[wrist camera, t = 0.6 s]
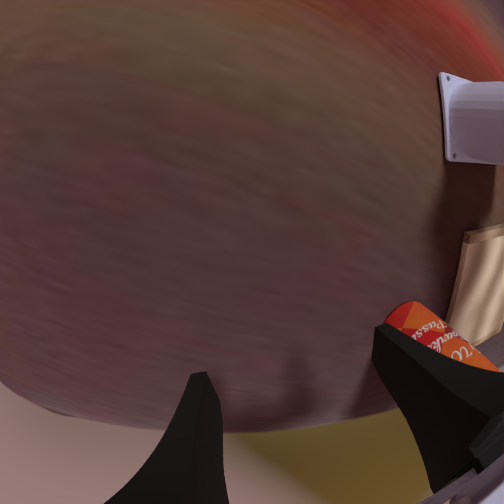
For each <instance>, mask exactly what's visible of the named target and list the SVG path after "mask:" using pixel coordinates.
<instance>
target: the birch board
mask: <svg viewBox="0 0 504 504" xmlns="http://www.w3.org/2000/svg"><path fill="white" fill-rule="evenodd" d="M503 321H504V224H501V225H496V226H491V227H486V228H481V229H476V230H471V231H466V232H464V237H463V244H462V250H461V256H460V261H459V266H458V271H457V276H456V281H455V285H454V289H453V293H452V297H451V301H450V305H449V309H448V312H447V316H446V319H445V323H446V324H448V325H449V326H450V327H451V328H452V329H454V330H455V331H456V332H457V333H458V334H459V335H461V336H462V337H463V338H464V339H465V340H466V341H468V342H469V343H470V344H471V345H472V346H473V347H475V346H477V345H478V344H480V343H482V342H483V341H485V340H487V339H488V338H490V337H492V336H493V335H495V334H496V333H498V332H499V331H500V330H501V328H502V324H503Z"/></svg>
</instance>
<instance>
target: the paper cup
mask: <svg viewBox="0 0 504 504" xmlns="http://www.w3.org/2000/svg"><path fill="white" fill-rule="evenodd" d="M385 323H388V324H390V325H392V326H393V327H395V328H397V329H398V330H400V331H402V332H403V333H405V334H407V335H408V336H410V337H412V338H413V339H415V340H417V341H419V342H420V343H422V344H424V345H426V346H427V347H429V348H431V349H433V350H435V351H437V352H439V353H441V354H443V355H445V356H448V357H450V358H452V359H455V360H457V361H460V362H463V363H465V364H468V365H471V366H475V367H478V368H482V369H486V370H491V371H496V372H501V371H499V369H497V368H496V367H495V366H494V365H493V364H492V363H491V362H490V361H489V360H488V359H487V358H486V357H484V356H483V355H482V354H481V353H480V352H479V351H478V350H477V349H475V348H474V347H473V346H472V345H471V344H470V343H469V342H468V341H466V340H465V339H464V338H463V337H462V336H461V335H459V334H458V333H457V332H456V331H455V330H454V329H452V328H451V327H450V326H449V325H448V324H446V323H445V322H444V321H443V320H441V319H440V318H439V317H438V316H436V315H435V314H434V313H433V312H431V311H430V310H429V309H428V308H426V307H425V306H423V305H422V304H421V303H419V302H417V301H408V302H405V303H403V304H401V305H400V306H398V307H397V308H396V309H394V310H393V311H392V312H391V313H390V314H389V316H388V317H387V318H386V320H385V322H384V323H383V324H385Z"/></svg>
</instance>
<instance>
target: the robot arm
mask: <svg viewBox="0 0 504 504" xmlns="http://www.w3.org/2000/svg"><path fill="white" fill-rule="evenodd" d="M438 77H439V84H440V91H441V99H442V109H443V120H444V136H445V158H446V160H447V161H451V162H469V163H483V164H495V165H503V166H504V82H475V83H473V82H471V81H468V80H465V79H462V78H460V77H457V76H454V75H451V74H447V73H444V72H441V73H439V75H438ZM453 155H454V156H453ZM372 362H373V364H374V366H375V368H376V370H377V373H378V375H379V377H380V379H381V380H382V382H383V383H384V385H385V386H386V388H387V390H388V391H389V393H390V394H391V396H392V397H393V399H394V400H395V402H396V403H397V405H398V407H399V408H400V410H401V411H402V413H403V415H404V416H405V418H406V420H407V422H408V424H409V426H410V429H411V431H412V433H413V435H414V438H415V440H416V443H417V445H418V448H419V450H420V453H421V456H422V459H423V462H424V465H425V468H426V471H427V476H428V479H429V483H430V488H431V490H432V492H433V494H434V495H432V496H430V497H428V498H427V499H425V500H423V501H421V502H420V503H418V504H443V503H445V502H446V501H448V500H449V499H451V500H450V502H449V504H504V373H503V372H496V371H491V370H486V369H482V368H478V367H475V366H471V365H468V364H465V363H463V362H460V361H457V360H455V359H452V358H450V357H448V356H445V355H443V354H441V353H439V352H437V351H435V350H433V349H431V348H429V347H427V346H426V345H424V344H422V343H420V342H419V341H417V340H415V339H413V338H412V337H410V336H408V335H407V334H405V333H403V332H402V331H400V330H398V329H397V328H395V327H393V326H392V325H390V324H388V323H385V324H382V325H379V326H377V327H375V332H374V342H373V352H372ZM223 468H224V467H223V422H222V414H221V407H220V400H219V398H218V396H217V394H216V392H215V390H214V388H213V386H212V383H211V381H210V379H209V377H208V375H207V373H206V371H205V372H199V373H193V374H191V375H190V377H189V380H188V383H187V386H186V388H185V391H184V393H183V396H182V398H181V401H180V403H179V405H178V407H177V409H176V412H175V414H174V416H173V418H172V420H171V422H170V424H169V426H168V428H167V430H166V431H165V433H164V435H163V437H162V439H161V440H160V442H159V443H158V445H157V447H156V448H155V450H154V451H153V453H152V454H151V455H150V457H149V458H148V459H147V461H146V462H145V463H144V465H143V466H142V467H141V468H140V470H139V471H138V472H137V473H136V474H135V475H134V477H132V479H130V481H129V482H128V483H127V484H126V485H125V486H124V487H123V488H122V489H121V490H119V491H118V492H117V493H116V494H115V495H114V496H112V497H111V498H110V499H109V500H108V501H106V502H105V503H104V504H229V500H228V495H227V489H226V483H225V477H224V469H223Z"/></svg>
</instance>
